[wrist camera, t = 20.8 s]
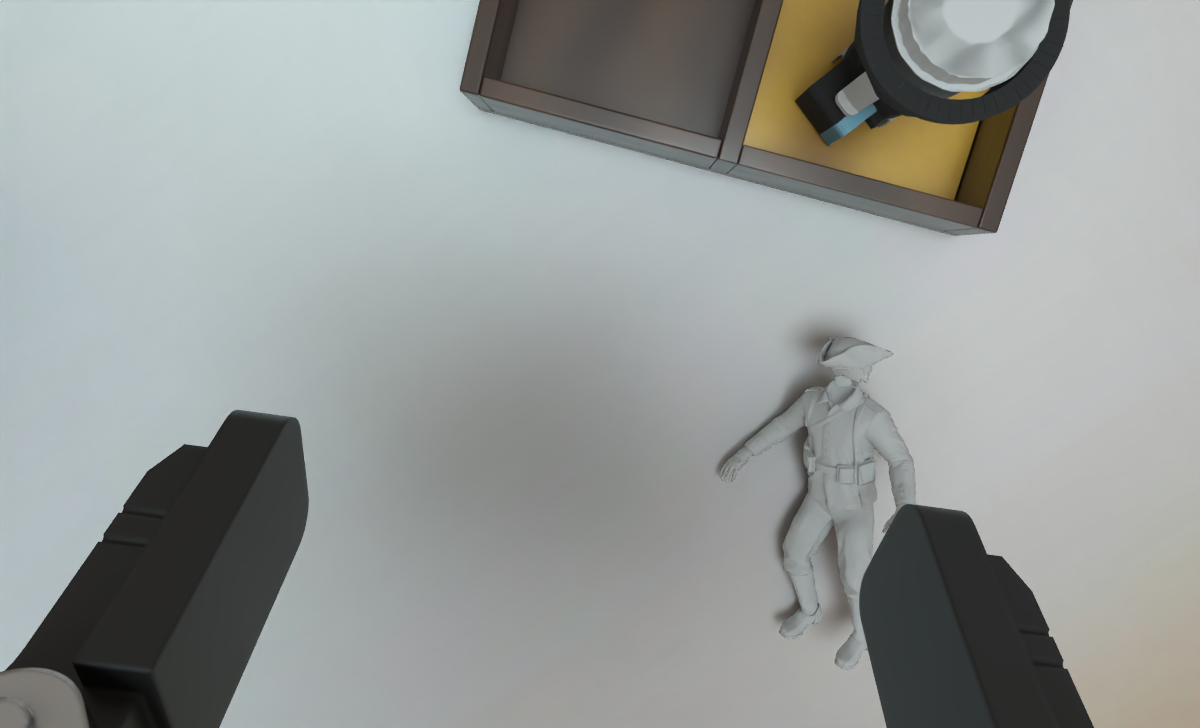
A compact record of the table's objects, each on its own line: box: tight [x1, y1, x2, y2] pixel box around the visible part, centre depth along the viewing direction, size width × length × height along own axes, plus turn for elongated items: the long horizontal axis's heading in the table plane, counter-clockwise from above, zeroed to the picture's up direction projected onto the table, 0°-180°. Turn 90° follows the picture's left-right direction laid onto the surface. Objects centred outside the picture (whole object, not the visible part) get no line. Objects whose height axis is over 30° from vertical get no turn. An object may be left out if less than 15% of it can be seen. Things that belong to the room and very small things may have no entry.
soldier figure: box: [720, 337, 916, 670], centre depth 31 cm, size 8×5×12 cm
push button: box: [795, 0, 1070, 146], centre depth 25 cm, size 7×5×10 cm
